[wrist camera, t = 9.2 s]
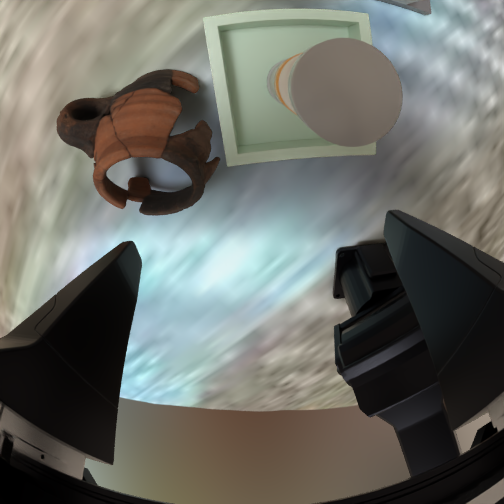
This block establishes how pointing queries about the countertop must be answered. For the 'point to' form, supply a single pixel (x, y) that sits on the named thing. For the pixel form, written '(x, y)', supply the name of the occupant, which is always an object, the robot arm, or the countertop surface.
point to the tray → (255, 80)
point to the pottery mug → (141, 139)
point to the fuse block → (412, 5)
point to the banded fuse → (340, 91)
